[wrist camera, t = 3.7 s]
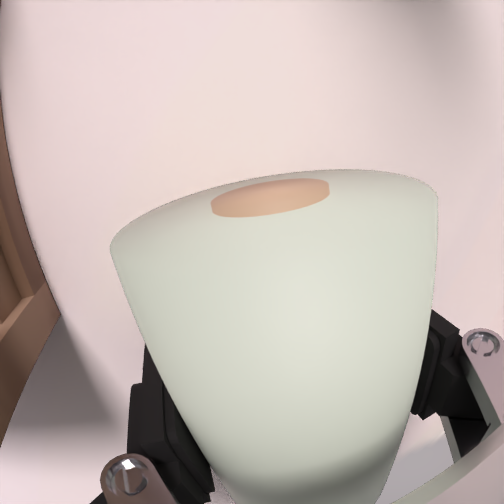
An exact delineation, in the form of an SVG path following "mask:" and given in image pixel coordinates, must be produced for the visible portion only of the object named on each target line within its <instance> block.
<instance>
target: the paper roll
mask: <svg viewBox="0 0 504 504" xmlns="http://www.w3.org/2000/svg"><path fill="white" fill-rule="evenodd" d="M437 237H438V196H437V194H436V192H435V191H434V190H433V189H432V187H430V186H429V185H427V184H426V183H424V182H422V181H420V180H417V179H415V178H412V177H408V176H405V175H400V174H396V173H389V172H382V171H373V170H352V169H338V170H315V171H303V172H293V173H285V174H278V175H271V176H265V177H259V178H254V179H249V180H244V181H239V182H235V183H230V184H226V185H222V186H218V187H215V188H211V189H207V190H204V191H201V192H197V193H194V194H191V195H188V196H185V197H183V198H180V199H177V200H174V201H172V202H169V203H167V204H165V205H162V206H160V207H158V208H156V209H153V210H151V211H149V212H147V213H146V214H144V215H142V216H140V217H138V218H137V219H135V220H133V221H132V222H130V223H129V224H128V225H126V226H125V227H124V228H122V229H121V230H120V231H119V232H118V233H117V234H116V236H115V237H114V238H113V239H112V242H111V244H110V253H111V256H112V259H113V262H114V265H115V268H116V270H117V273H118V276H119V279H120V282H121V284H122V287H123V290H124V292H125V295H126V298H127V300H128V303H129V305H130V308H131V310H132V313H133V315H134V318H135V320H136V323H137V325H138V327H139V330H140V332H141V334H142V337H143V339H144V341H145V343H146V346H147V348H148V350H149V352H150V355H151V357H152V359H153V361H154V363H155V365H156V367H157V370H158V372H159V374H160V376H161V378H162V380H163V382H164V384H165V386H166V388H167V390H168V392H169V394H170V396H171V398H172V400H173V402H174V404H175V405H176V407H177V409H178V411H179V413H180V415H181V417H182V418H183V420H184V422H185V424H186V426H187V427H188V429H189V431H190V433H191V434H192V436H193V438H194V440H195V441H196V443H197V445H198V446H199V448H200V450H201V451H202V453H203V455H204V456H205V458H206V460H207V461H208V463H209V464H210V466H211V468H212V469H213V471H214V472H215V474H216V475H217V477H218V478H219V480H220V481H221V483H222V484H223V486H224V487H225V489H226V490H227V492H228V493H229V495H230V496H231V498H232V499H233V500H234V502H235V503H236V504H375V502H376V501H377V499H378V498H379V496H380V495H381V492H382V490H383V488H384V486H385V483H386V481H387V478H388V476H389V473H390V471H391V468H392V466H393V463H394V460H395V457H396V455H397V452H398V449H399V446H400V443H401V440H402V437H403V434H404V431H405V428H406V424H407V421H408V418H409V414H410V411H411V407H412V403H413V400H414V396H415V392H416V388H417V384H418V380H419V375H420V371H421V366H422V361H423V357H424V351H425V346H426V341H427V335H428V329H429V322H430V315H431V308H432V300H433V292H434V282H435V271H436V257H437Z"/></svg>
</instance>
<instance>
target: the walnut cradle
mask: <svg viewBox="0 0 504 504" xmlns="http://www.w3.org/2000/svg"><path fill="white" fill-rule="evenodd" d="M0 4H1V0H0ZM60 315H61V314H60V312H59V310H58V308H57V306H56V303H55V301H54V299H53V297H52V294H51V292H50V290H49V287H48V285H47V282H46V280H45V277H44V275H43V272H42V270H41V267H40V265H39V262H38V259H37V257H36V254H35V251H34V248H33V245H32V242H31V239H30V236H29V233H28V230H27V227H26V224H25V221H24V217H23V214H22V210H21V207H20V203H19V199H18V196H17V192H16V188H15V184H14V179H13V175H12V170H11V166H10V161H9V156H8V150H7V145H6V139H5V132H4V125H3V118H2V109H1V99H0V447H1V444H2V441H3V438H4V436H5V433H6V430H7V427H8V425H9V422H10V420H11V417H12V415H13V412H14V410H15V407H16V405H17V402H18V400H19V398H20V395H21V393H22V391H23V388H24V386H25V384H26V382H27V380H28V377H29V375H30V373H31V371H32V369H33V367H34V365H35V363H36V361H37V359H38V356H39V354H40V352H41V350H42V349H43V347H44V345H45V343H46V341H47V339H48V337H49V335H50V333H51V331H52V329H53V328H54V326H55V324H56V322H57V320H58V318H59V317H60Z"/></svg>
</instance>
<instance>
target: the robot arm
mask: <svg viewBox="0 0 504 504" xmlns="http://www.w3.org/2000/svg"><path fill="white" fill-rule="evenodd" d="M459 331H460V329H458V328H457V327H455V326H454V325H453V324H451V323H450V322H449V321H447V320H446V319H445V318H443V317H442V316H440V315H439V314H438V313H436V312H435V311H434V310H432V309H431V315H430V322H429V329H428V335H427V341H426V346H425V351H424V357H423V361H422V366H421V371H420V375H419V380H418V384H417V388H416V392H415V396H414V400H413V403H412V407H411V411H410V412H411V413H412V414H414V415H416V414H418V415H419V416H420V418H421V419H422V420H424V419H426V418H427V417H429V416H431V415H432V414H434V413H435V412H436V413H437V414H438V415H439V416H440V418H441V421H442V425H443V428H444V431H445V434H446V437H447V441H448V444H449V447H450V451H451V454H452V458H453V461H454V464H453V465H452V466H451V467H449V468H448V469H446V470H445V471H443V472H442V473H440V474H439V475H437V476H436V477H435V478H433V479H432V480H430V481H428V482H427V483H425V484H424V485H422V486H420V487H419V488H417V489H416V490H414V491H412V492H411V493H409V494H408V495H405V496H404V497H402V498H400V499H398V500H397V501H395V502H393V503H391V504H504V340H503V339H502V338H501V337H500V336H499V335H498V334H497V333H495V332H494V331H492V330H489V329H483V328H478V329H473V330H470V331H468V332H467V333H466V334H465V335H464V336H463V337H461V336H460V335H459ZM100 483H101V488H102V490H103V492H102V493H101V494H100V495H99V496H98V497H97V498H95V499H94V500H93V501H92V502H91V503H90V504H204V503H206V502H211V500H210V495H209V493H210V492H215V488H214V483H213V478H212V474H211V469H210V464H209V463H208V461H207V460H206V458H205V456H204V455H203V453H202V451H201V450H200V448H199V446H198V445H197V443H196V441H195V440H194V438H193V436H192V434H191V433H190V431H189V429H188V427H187V426H186V424H185V422H184V420H183V418H182V417H181V415H180V413H179V411H178V409H177V407H176V405H175V404H174V402H173V400H172V398H171V396H170V394H169V392H168V390H167V388H166V386H165V384H164V382H163V380H162V378H161V376H160V374H159V372H158V370H157V367H156V365H155V363H154V361H153V359H152V357H151V355H150V352H149V350H148V348H147V346H146V343H145V349H144V362H143V377H142V383H138V384H133V385H132V387H131V394H130V406H129V420H128V438H127V454H123V455H120V456H117V457H115V458H114V459H112V460H110V461H109V462H108V463H107V464H106V465H105V467H104V469H103V471H102V473H101V478H100Z"/></svg>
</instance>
